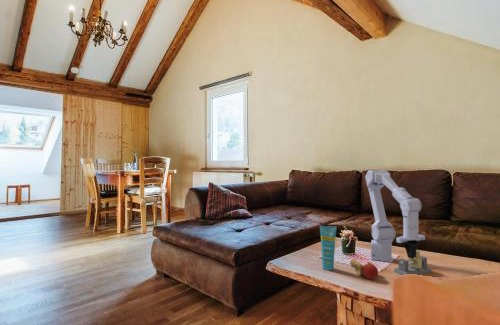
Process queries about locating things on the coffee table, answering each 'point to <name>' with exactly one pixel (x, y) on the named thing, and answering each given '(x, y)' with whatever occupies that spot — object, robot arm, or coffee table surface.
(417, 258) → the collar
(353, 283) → the coffee table surface
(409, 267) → the pipe rig
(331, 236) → the tube
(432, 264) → the coffee table surface
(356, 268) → the kendama
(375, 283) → the coffee table surface
